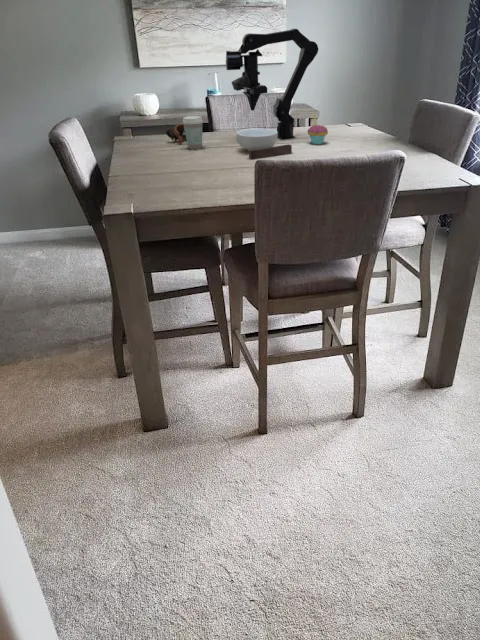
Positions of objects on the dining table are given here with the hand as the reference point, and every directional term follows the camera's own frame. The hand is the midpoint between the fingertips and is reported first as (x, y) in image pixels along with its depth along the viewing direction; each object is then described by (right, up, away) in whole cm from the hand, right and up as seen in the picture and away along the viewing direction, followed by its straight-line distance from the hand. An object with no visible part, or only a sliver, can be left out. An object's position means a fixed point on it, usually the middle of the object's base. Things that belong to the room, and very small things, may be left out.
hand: (252, 110), depth 215 cm
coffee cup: (-24, -18, -3) cm, 31 cm away
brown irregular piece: (-33, -11, +7) cm, 35 cm away
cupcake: (+28, -16, -3) cm, 32 cm away
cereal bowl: (+2, -22, -10) cm, 24 cm away
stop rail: (+7, -27, -19) cm, 34 cm away
